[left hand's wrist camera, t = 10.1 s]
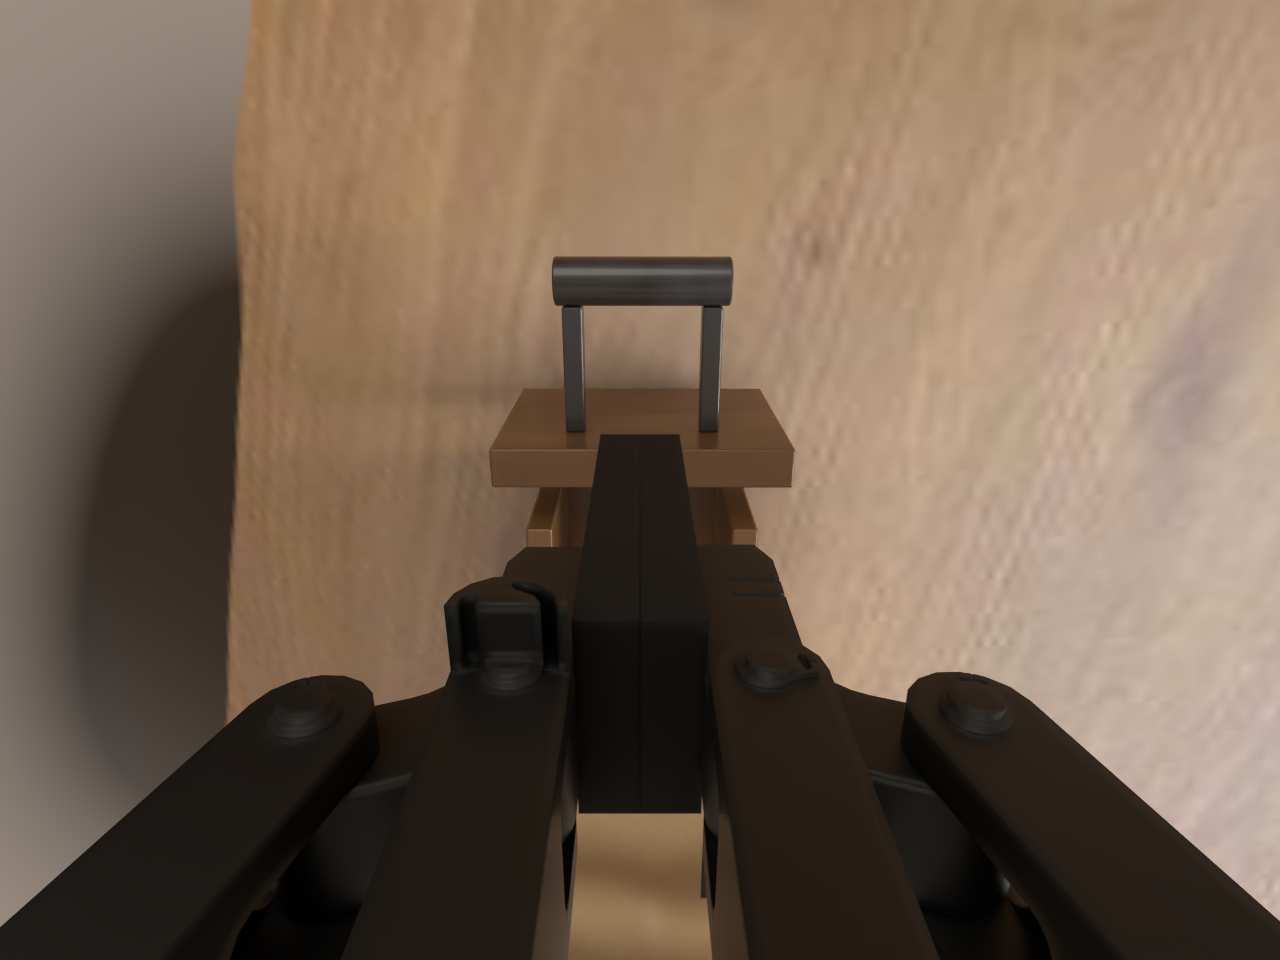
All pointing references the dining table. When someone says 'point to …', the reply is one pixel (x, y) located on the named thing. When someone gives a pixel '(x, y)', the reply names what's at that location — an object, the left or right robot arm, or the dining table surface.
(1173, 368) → the dining table surface
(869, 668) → the dining table surface
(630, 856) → the wooden storage box
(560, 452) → the drawer
